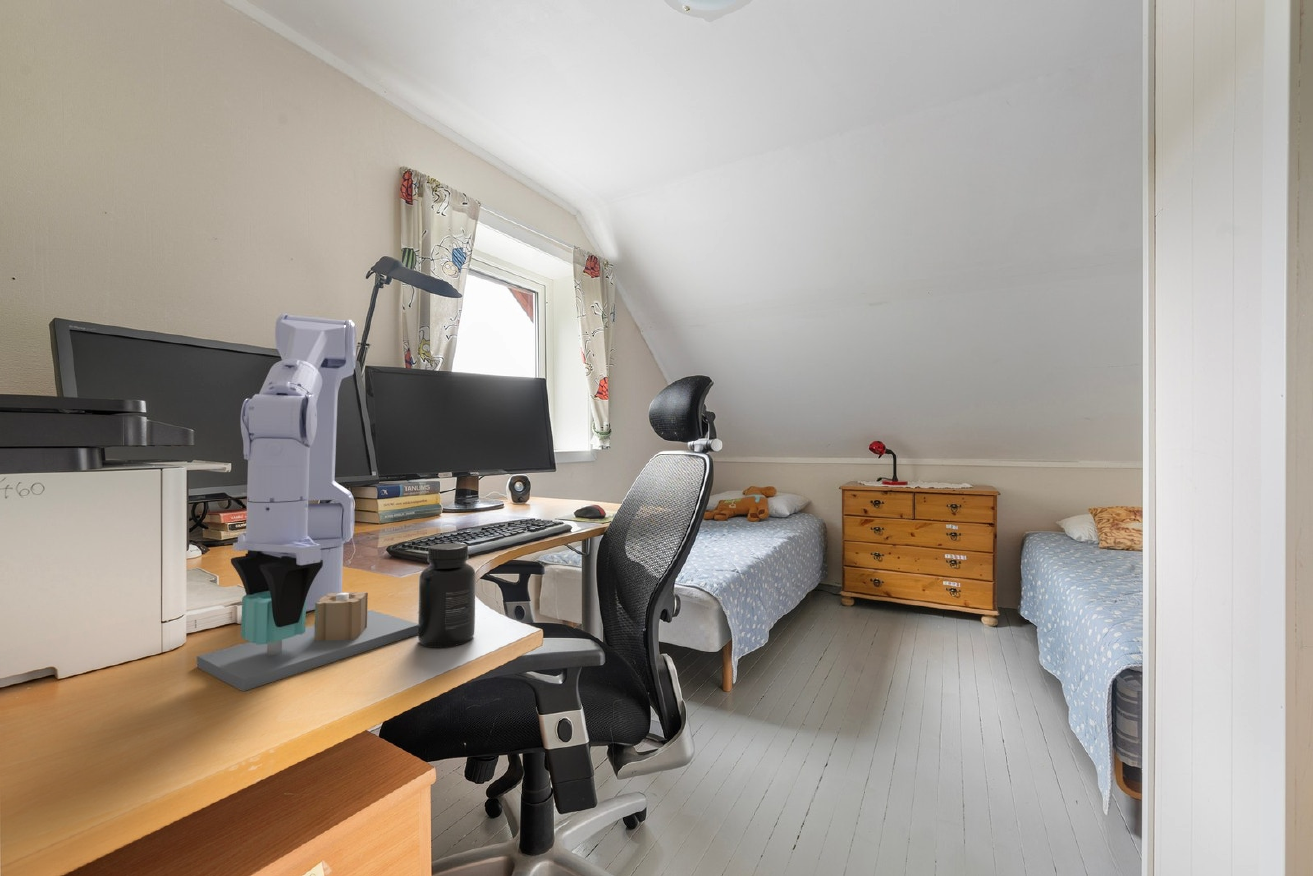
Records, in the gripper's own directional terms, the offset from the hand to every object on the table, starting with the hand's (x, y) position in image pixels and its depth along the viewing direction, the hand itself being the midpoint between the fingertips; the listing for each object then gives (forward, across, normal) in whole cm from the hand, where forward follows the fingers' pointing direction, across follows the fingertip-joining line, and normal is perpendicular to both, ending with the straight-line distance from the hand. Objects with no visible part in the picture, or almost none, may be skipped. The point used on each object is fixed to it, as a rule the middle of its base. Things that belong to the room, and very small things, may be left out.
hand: (275, 620), depth 61 cm
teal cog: (+2, 0, 0) cm, 2 cm away
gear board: (+5, 0, +5) cm, 7 cm away
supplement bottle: (+5, +10, +16) cm, 19 cm away
